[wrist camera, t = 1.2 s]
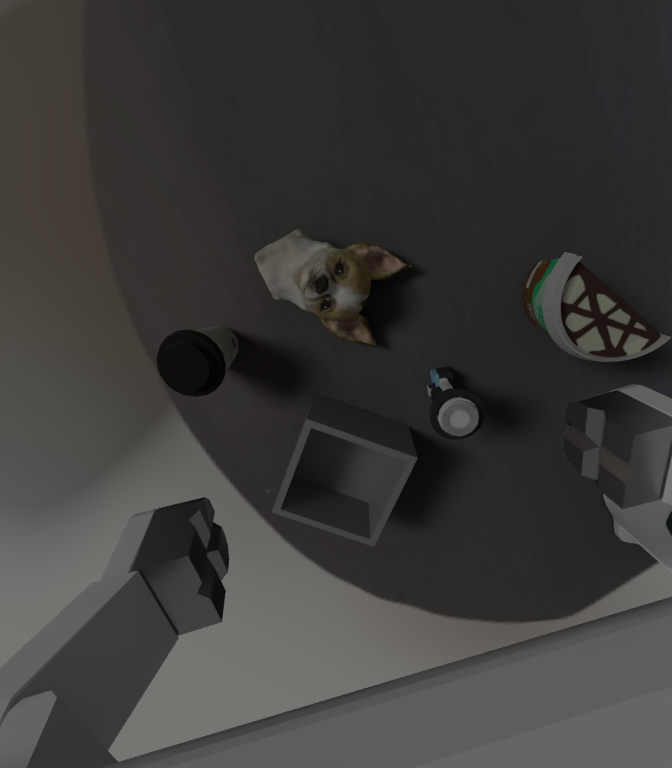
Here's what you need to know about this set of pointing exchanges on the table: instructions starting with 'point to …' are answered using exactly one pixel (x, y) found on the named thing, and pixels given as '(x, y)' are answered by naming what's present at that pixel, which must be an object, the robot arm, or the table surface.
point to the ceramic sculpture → (327, 279)
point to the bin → (346, 470)
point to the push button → (453, 407)
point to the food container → (585, 313)
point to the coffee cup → (197, 359)
